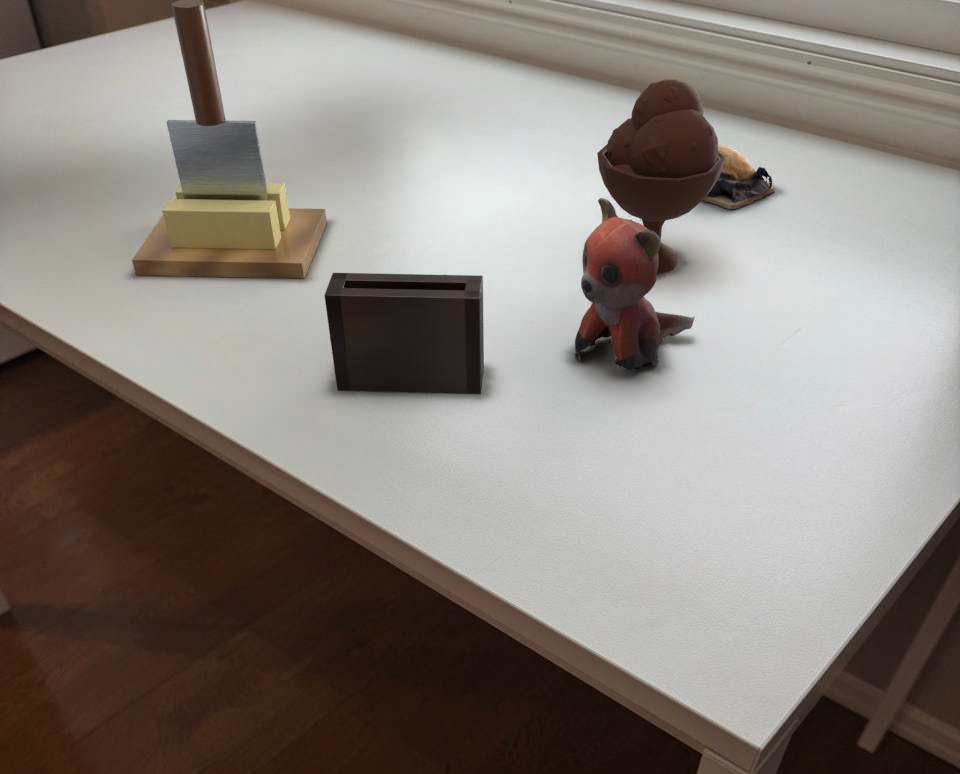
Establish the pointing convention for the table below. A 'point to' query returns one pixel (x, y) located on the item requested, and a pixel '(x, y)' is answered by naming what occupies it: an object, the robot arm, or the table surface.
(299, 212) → the board
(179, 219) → the butter
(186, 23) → the cleaver knife
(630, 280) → the stuffed fox
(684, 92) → the ice cream bowl
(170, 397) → the table surface
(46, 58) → the table surface
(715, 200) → the tan mound on tray
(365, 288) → the knife block
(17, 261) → the table surface
